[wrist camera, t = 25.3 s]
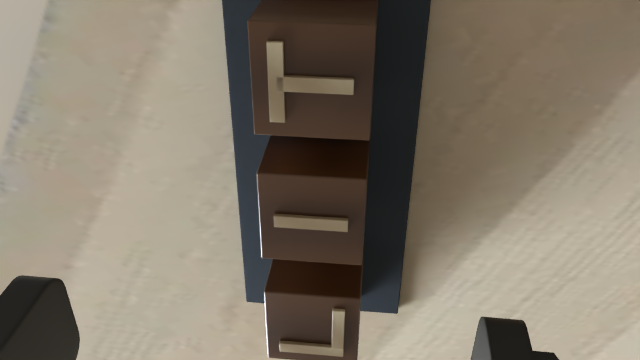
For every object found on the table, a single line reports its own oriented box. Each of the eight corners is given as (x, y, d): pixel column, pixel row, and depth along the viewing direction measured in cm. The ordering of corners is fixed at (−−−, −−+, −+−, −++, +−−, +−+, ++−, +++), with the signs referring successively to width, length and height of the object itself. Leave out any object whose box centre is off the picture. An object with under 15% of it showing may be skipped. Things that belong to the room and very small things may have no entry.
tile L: (280, 228, 32) (262, 294, 28) (365, 234, 32) (360, 302, 27) (282, 291, 35) (266, 361, 30) (361, 297, 34) (356, 369, 30)
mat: (220, -52, 25) (217, -50, 25) (434, -46, 24) (435, -44, 24) (247, 297, 36) (246, 302, 35) (397, 309, 35) (397, 314, 35)
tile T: (271, -16, 25) (245, 22, 21) (379, -12, 25) (376, 27, 21) (274, 84, 28) (252, 137, 23) (373, 89, 27) (369, 143, 23)
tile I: (276, 119, 29) (254, 175, 24) (371, 123, 28) (366, 181, 24) (278, 197, 31) (260, 261, 27) (366, 203, 31) (361, 269, 26)
